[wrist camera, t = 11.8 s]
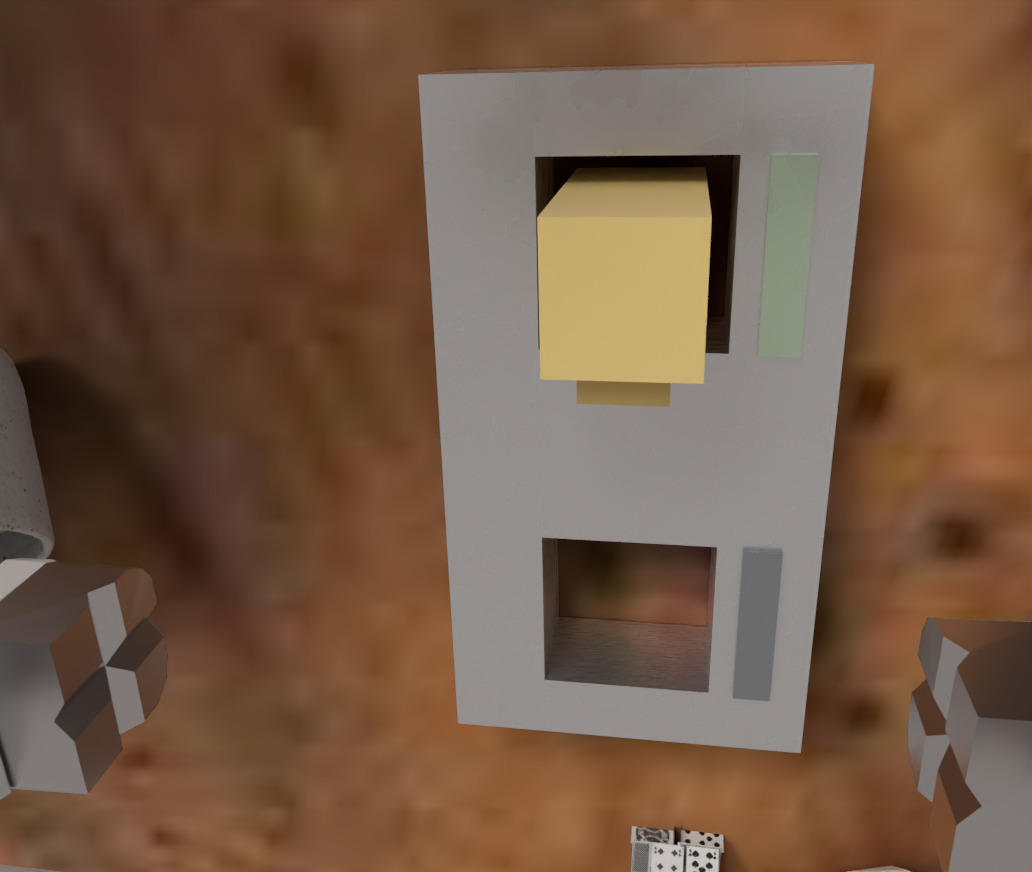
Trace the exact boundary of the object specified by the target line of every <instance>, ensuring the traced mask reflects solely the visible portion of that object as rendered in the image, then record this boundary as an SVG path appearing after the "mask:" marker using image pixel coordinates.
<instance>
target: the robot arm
mask: <svg viewBox="0 0 1032 872" xmlns="http://www.w3.org/2000/svg"><path fill="white" fill-rule="evenodd" d="M156 604H157V599H156V595H155V591H154V587H153V583H152V579H151V576H150V575H149V574H148V573H146V572H145V571H144V570H143V569H141V568H140V567H133V566H121V565H109V564H97V563H85V562H73V561H56V560H53V559H33V558H16V559H7V560H5V561H3V562H2V563H1V564H0V799H2V798H3V797H5V796H7V795H8V794H10V793H11V789H24V790H38V791H51V792H65V793H79V794H88V793H89V792H90V791H91V789H92V788H93V787H94V785H95V784H96V783H97V782H98V780H99V779H100V778H101V777H102V775H103V774H104V773H105V772H106V770H107V769H108V768H109V766H110V765H111V764H112V763H113V761H114V760H115V759H116V758H117V756H118V755H119V754H120V752H121V751H122V750H123V747H122V741H121V734H122V733H123V732H125V731H127V730H129V729H131V728H133V727H135V726H137V725H139V724H140V723H142V722H144V721H145V720H146V719H147V718H148V716H149V715H150V714H151V712H152V711H153V710H154V708H155V707H156V705H157V704H158V703H159V700H160V697H161V694H162V691H163V688H164V685H165V682H166V679H167V664H168V655H167V649H166V644H165V638H164V636H163V635H162V634H161V633H160V632H159V630H158V629H157V628H156V627H155V626H154V625H153V624H152V623H151V621H150V620H149V619H148V617H149V615H150V614H151V612H152V610H153V609H154V607H155V605H156ZM918 656H919V659H920V662H921V664H922V667H923V670H924V673H925V676H926V678H927V679H926V680H925V681H924V682H923V683H922V684H921V685H919V686H918V687H917V688H916V689H915V690H914V691H913V692H912V695H911V703H910V711H909V719H908V750H909V756H910V762H911V768H912V773H913V776H914V780H915V783H916V787H917V790H918V791H919V792H920V793H921V794H922V795H924V796H925V797H926V798H927V799H928V800H930V801H931V802H932V807H931V813H930V819H929V825H928V827H929V830H930V833H931V836H932V840H933V843H934V846H935V849H936V852H937V855H938V859H939V862H940V865H941V868H942V871H943V872H1032V622H1023V621H997V620H972V619H946V618H927V619H926V622H925V625H924V627H923V630H922V633H921V639H920V645H919V651H918ZM0 872H59V871H51V870H42V869H34V868H25V867H17V866H9V865H0Z"/></svg>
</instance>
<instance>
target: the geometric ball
mask: <svg viewBox="0 0 1032 872" xmlns="http://www.w3.org/2000/svg"><path fill="white" fill-rule="evenodd" d="M848 872H911V871H908V870H905V869H902V868H898V867H895V866H885V867H877V868H870V869H863V870H855V871H848Z"/></svg>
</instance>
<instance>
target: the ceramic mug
mask: <svg viewBox="0 0 1032 872" xmlns="http://www.w3.org/2000/svg"><path fill="white" fill-rule="evenodd" d="M54 542H55V538H54V533H53V528H52V524H51V519H50V514H49V509H48V504H47V499H46V494H45V489H44V484H43V479H42V474H41V470H40V465H39V461H38V456H37V452H36V447H35V443H34V438H33V434H32V429H31V423H30V417H29V411H28V405H27V400H26V395H25V391H24V387H23V384H22V381H21V379H20V377H19V374H18V372H17V369H16V367H15V365H14V362H13V360H12V359H11V357H10V356H9V354H8V353H7V351H6V350H5V349H4V348H3V347H2V346H1V345H0V564H1V563H2V562H3V561H5V560H7V559H16V558H33V559H46V558H47V557H48V556H49V555H50V554H51V552H52V550H53V547H54Z"/></svg>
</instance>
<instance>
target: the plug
mask: <svg viewBox="0 0 1032 872" xmlns="http://www.w3.org/2000/svg"><path fill="white" fill-rule="evenodd" d="M711 224H712V215H711V207H710V199H709V191H708V184H707V176H706V168H705V167H648V168H577V169H576V170H575V172H574V173H573V174H572V175H571V177H570V178H569V179H568V180H567V181H566V183H565V184H564V185H563V186H562V188H561V189H560V190H559V191H558V192H557V194H556V195H555V196H554V197H553V199H552V200H551V201H550V202H549V203H548V205H547V206H546V207H545V208H544V210H543V211H542V212H541V213H540V215H539V216H538V217H537V230H538V283H539V336H540V379H544V380H577V404H595V405H626V406H658V407H670V388H671V383H688V384H704V366H705V346H706V326H707V305H708V285H709V265H710V245H711Z"/></svg>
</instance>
